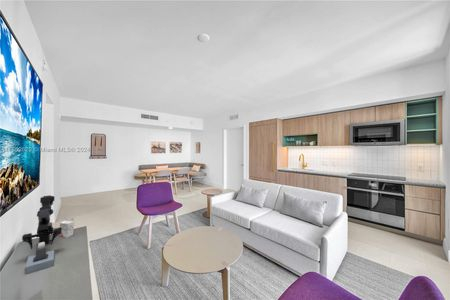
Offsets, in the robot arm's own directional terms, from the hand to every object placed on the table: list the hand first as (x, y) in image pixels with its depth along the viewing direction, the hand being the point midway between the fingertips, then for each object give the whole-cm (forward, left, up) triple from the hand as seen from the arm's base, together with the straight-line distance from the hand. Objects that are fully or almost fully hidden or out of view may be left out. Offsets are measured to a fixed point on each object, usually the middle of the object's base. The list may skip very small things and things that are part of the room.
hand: (41, 246), depth 116 cm
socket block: (+6, +3, -8) cm, 11 cm away
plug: (+6, +3, -7) cm, 10 cm away
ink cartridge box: (-34, -4, -9) cm, 35 cm away
